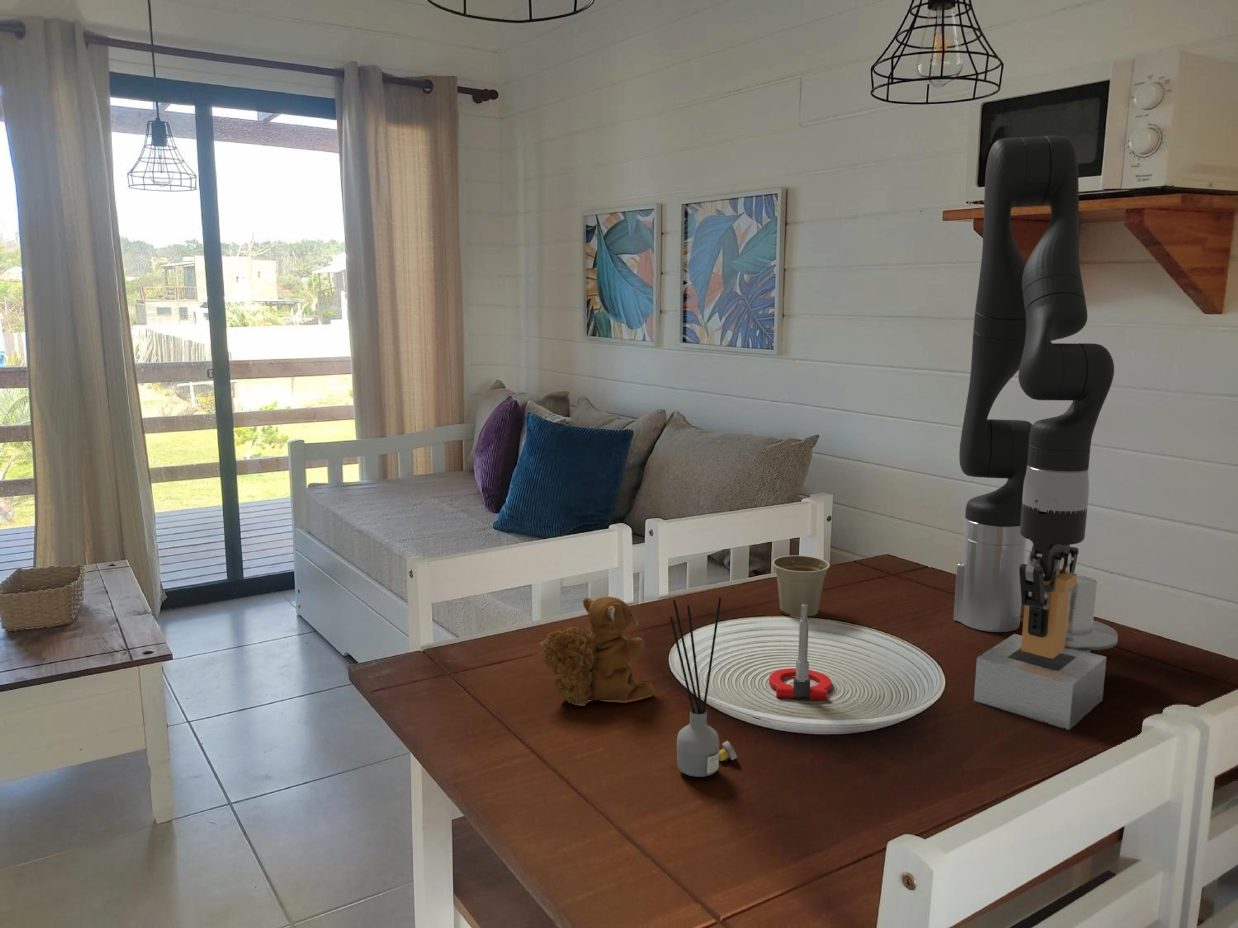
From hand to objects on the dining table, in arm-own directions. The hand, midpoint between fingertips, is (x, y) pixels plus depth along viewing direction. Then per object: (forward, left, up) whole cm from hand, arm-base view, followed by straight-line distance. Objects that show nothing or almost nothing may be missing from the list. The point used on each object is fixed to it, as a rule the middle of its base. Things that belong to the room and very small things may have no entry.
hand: (1043, 630), depth 121 cm
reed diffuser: (-21, -45, -10) cm, 51 cm away
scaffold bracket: (0, +5, -10) cm, 11 cm away
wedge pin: (0, 0, -3) cm, 3 cm away
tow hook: (-25, -18, -10) cm, 32 cm away
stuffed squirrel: (-43, -40, -10) cm, 59 cm away
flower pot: (-42, +7, -10) cm, 44 cm away
